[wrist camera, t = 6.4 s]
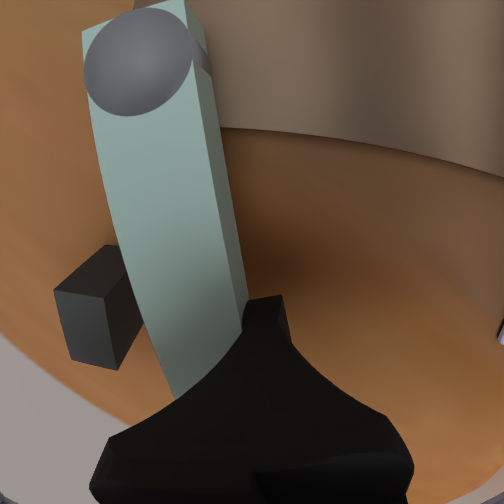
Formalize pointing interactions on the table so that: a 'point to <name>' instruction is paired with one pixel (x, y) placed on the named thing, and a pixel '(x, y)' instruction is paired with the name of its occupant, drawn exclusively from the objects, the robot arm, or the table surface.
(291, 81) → the stool seat
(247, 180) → the table surface
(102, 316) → the block
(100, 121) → the folding leg
